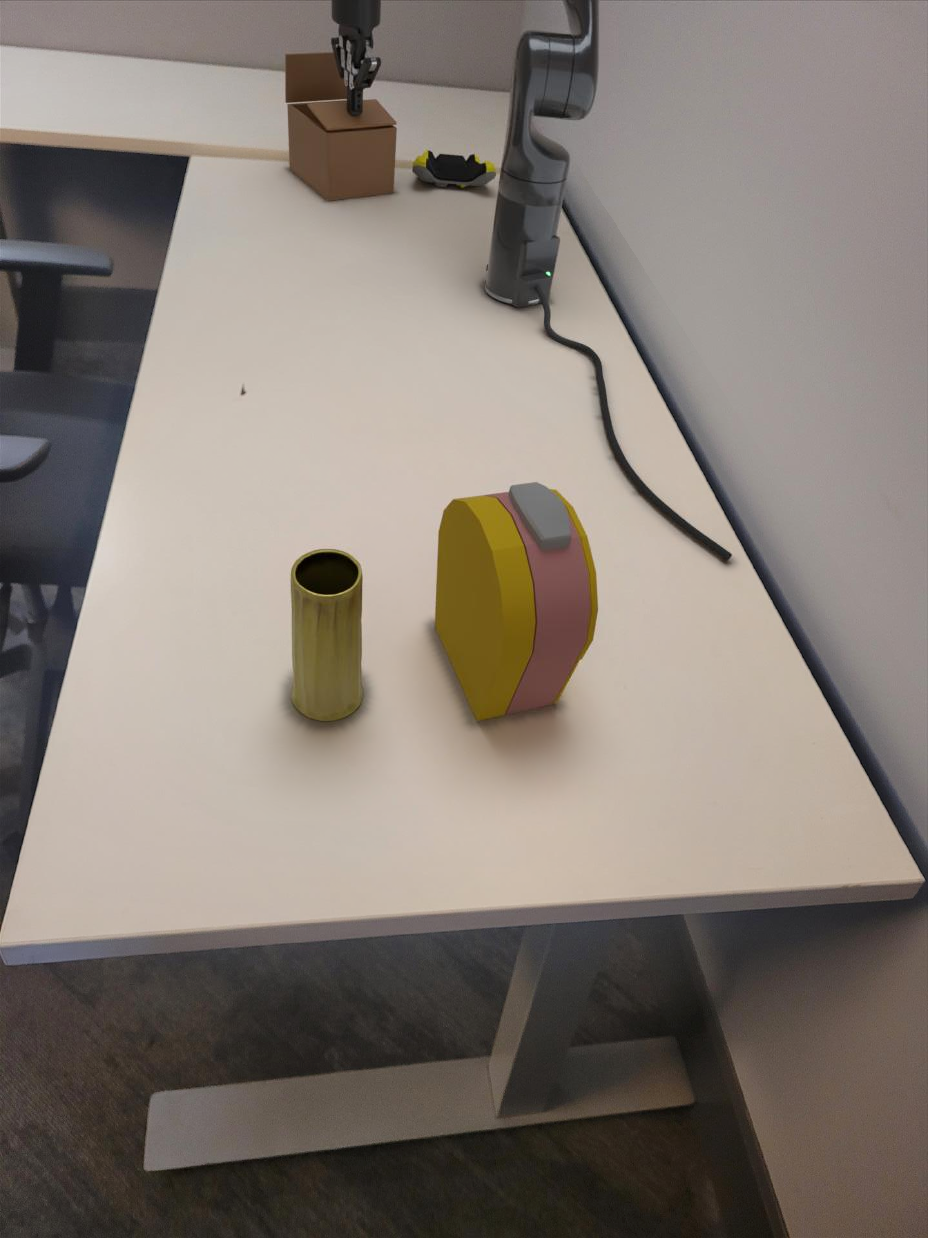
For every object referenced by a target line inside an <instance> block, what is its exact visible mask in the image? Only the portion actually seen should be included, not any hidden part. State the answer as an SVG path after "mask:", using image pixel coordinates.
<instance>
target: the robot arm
mask: <svg viewBox="0 0 928 1238" xmlns="http://www.w3.org/2000/svg"><path fill="white" fill-rule="evenodd" d="M561 1H562V3H563V6H564V11H565V14H566V19H567V25H568V30H569V31H568V32H569V33H563V32H557V31H547V30H539V29H526V30H524V31H523V32H522V33H521V34H520V35H519V37H518V39H517V41H516V44H515V49H514V53H513V57H512V65H511V73H510V86H509V87H510V89H509V100H508V110H507V123H506V128H505V129H506V130H505V137H504V145H503V152H502V158H501V166H500V173H499V180H498V186H497V187H498V188H497V195H496V203H495V210H494V218H493V225H492V234H491V241H490V248H489V256H488V263H486V268H485V271H486V279H485V281H484V291H485V292H486V293H487V294H488V296H489V297H491V298H493V299H495V300H496V301H499V302H502V303H505V304H508V305H511V306H513V307H515V308H517V309H519V308H524V307H529V306H532V305H537V304H541V305H542V308H543V328H544V330H545V332H546V333H547V335H548V336H549V337H550V338H551V339H552V340H554V341H555V342H557V343H559V344H562V345H564V346H567V347H569V348H572V349H575V350H578V351H581V352H583V353H584V354H586V355H588V356H589V358H591V360H592V362H593V364H594V367H595V374H596V377H595V378H596V382H597V387H598V392H599V402H600V408H601V413H602V419H603V424H604V428H605V432H606V436H607V440H608V442H609V445H610V447H611V449H612V451H613V453H614V455H615V458H616V459H617V461H618V463H619V465H620V466H621V468H622V469H623V471H624V473H625V474H626V475H627V477H628V478H629V479H630V480H631V482H632V483H633V484H634V486H636V488H637V489H638V490H639V491H640V492H641V493H642V494H643V495H644V497H646V498H647V499H648V500H649V501H650V502H651V504H653V505H654V506H655V507H656V508H657V509H658V510H660V511H661V512H662V513H663V514H664V515H666V516H667V517H668V518H669V519H670V520H672V521H673V523H675V524H676V525H678V526H679V527H680V528H681V529H683V530H684V532H687V533H688V534H689V535H690V536H691V537H693V538H695V539H696V540H697V541H699V542H700V543H701V544H703V545H704V546H706V547H707V548H708V549H710V550H711V551H713V552H714V553H715V554H717V555H718V556H719V557H721V558H722V559H724V560H725V561H729V560H730V559H731V558H732V556H733V554H732V553H731V552H730V551H729V550H727V549H726V548H724V547H723V546H721V545H720V544H718V543H717V542H715V541H714V540H713V539H711V538H710V537H709V536H707V535H706V534H704V533H703V532H701V531H700V530H699V529H698V528H696V527H695V526H693V525H692V524H691V523H690V522H688V521H687V520H686V519H685V518H683V517H682V516H681V515H679V513H677V512H676V511H675V510H673V508H671V507H670V506H669V505H667V504H666V503H665V502H664V501H663V500H662V499H661V498H659V497H658V495H656V494H655V492H653V490H651V489H650V488H649V487H648V486H647V485H646V483H645V482H644V481H643V480H642V479H641V477H640V476H639V475H638V474H637V472H636V471H635V470H634V469H633V467H632V466H631V464H630V463H629V461H628V459H627V458H626V455H625V454H624V452H623V450H622V448H621V446H620V444H619V441H618V439H617V437H616V434H615V430H614V426H613V423H612V417H611V413H610V408H609V403H608V396H607V388H606V383H605V378H604V371H603V363H602V361H601V358H600V356H599V355H598V353H597V352H595V351H594V350H593V349H592V348H591V347H589V346H588V345H586V344H584V343H581V342H579V341H576V340H571V339H568V338H565V337H563V336H562V335H559V334H558V333H556V331H554V329H553V328H552V326H551V315H552V314H551V308H550V307H551V306H550V304H549V301H550V296H551V292H552V285H553V281H554V275H555V269H556V265H557V259H558V253H559V248H560V245H561V244H560V243H561V238H560V236H558V228H559V223H560V218H561V211H562V207H563V201H564V196H565V191H566V186H567V181H568V175H569V170H570V166H571V156H570V153H569V151H568V150H567V149H566V148H565V147H564V146H562V145H561V144H560V143H558V142H556V141H555V140H553V139H551V138H550V137H548V136H546V135H544V134H543V133H541V132H540V131H539V130H538V129H537V128H536V127H535V126H534V124H533V123H532V122H533V118H534V117H537V118H546V119H555V120H564V121H581V120H584V119H586V117H588V115H589V114H590V113H591V110H592V109H593V106H594V102H595V99H596V95H597V90H598V82H599V81H598V80H599V65H600V64H599V63H600V0H561ZM381 12H382V0H331V19H332V21H333V22H334V23H335V24H337V25H338V30H337V31H338V35H337V36H335V37H331V38H330V45H331V48H332V52H334V56H335V60H336V64H337V68H338V72H339V76H340V78H341V79H343V78H344V83H345V86H347V99H346V100H347V111H348V112H349V113H350V114H352V115H360V114H362V112H363V100H364V90H365V89H370V88H371V87H372V85H373V83H374V81H375V79H376V77H377V74H378V73H379V70H380V68H381V65H382V59H381V57H378V56H377V57H375V53H374V51H373V49H374V37H373V30H374V29H375V28H378V26H380V25H381V15H382V14H381Z"/></svg>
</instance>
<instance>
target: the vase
mask: <svg viewBox="0 0 928 1238" xmlns="http://www.w3.org/2000/svg"><path fill="white" fill-rule="evenodd" d="M363 578H364V577H363V569H362V566H361V564H360V562H359V561H358V560H357V559H356V558H355V557H354V556H353V555H352V554H350V553H348V552H346V551H344V550H340V549H336V548H319V549H314V550H310V551H309V552H306V553H304V554H302V555H301V556H299V557H298V558H297V559H296V560H295V562H294V563H293V564H292V567H291V571H290V599H291V600H290V603H291V661H292V672H293V673H292V674H293V680H292V682H291V683H292V684H291V690H290V698H291V701H292V703H293V705H294V707H295V708H296V709H297V711H299V712H300V713H301V714H302V715H304V716H305V717H307V718H310V719H313V720H316V721H321V722H333V721H338V720H342V719H344V718H346V717H348V716H350V715H351V714H352V713H354V712H356V710H357V709H359V707H360V706H361V703H362V701H363V698H364V692H365V691H364V689H365V687H364V684H363V677H362V675H363V674H362V673H363V671H362V668H363V667H362V659H363V637H362V636H363V630H362V629H363V628H362V627H363V626H362V625H363V624H362V616H363V580H364V579H363Z"/></svg>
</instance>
